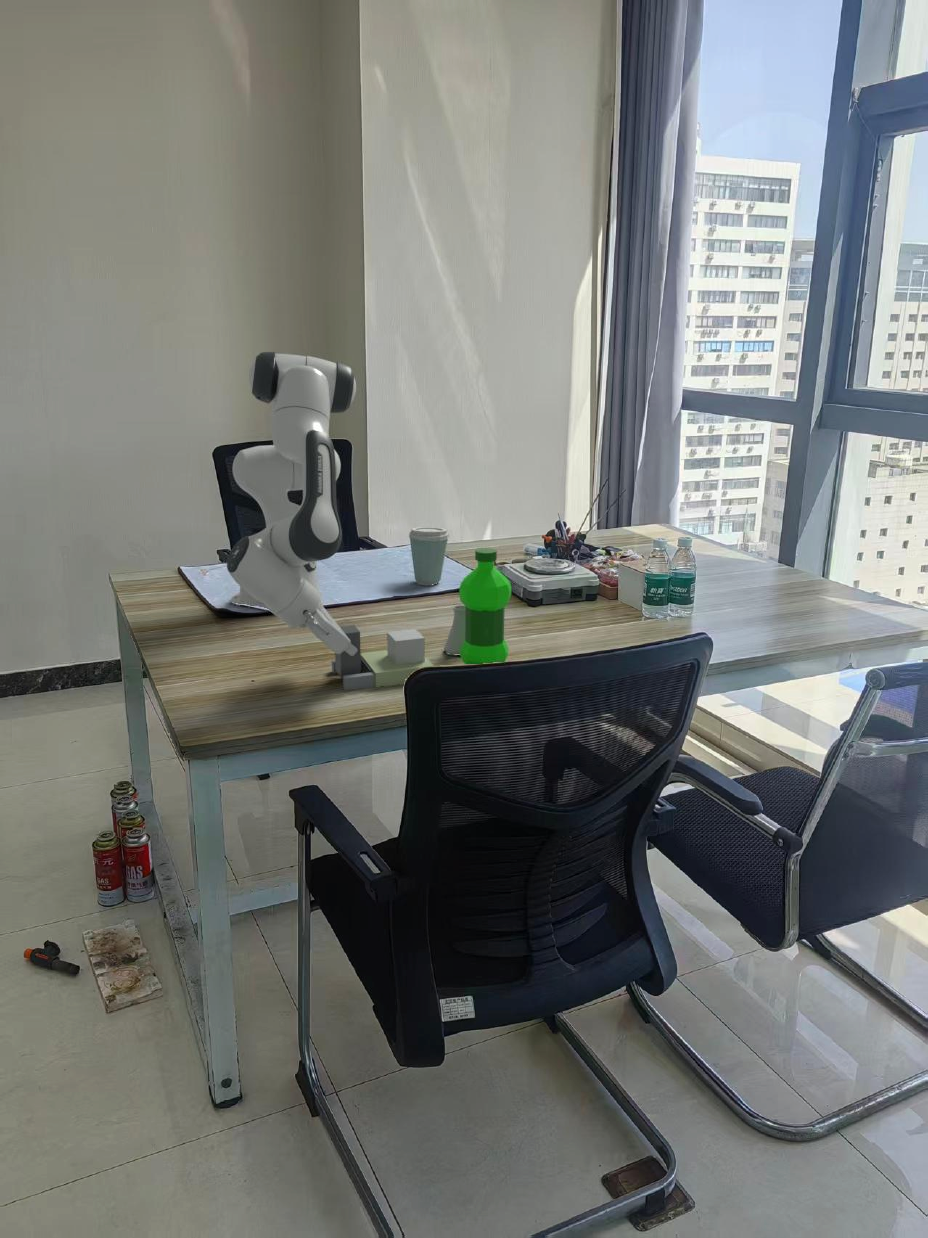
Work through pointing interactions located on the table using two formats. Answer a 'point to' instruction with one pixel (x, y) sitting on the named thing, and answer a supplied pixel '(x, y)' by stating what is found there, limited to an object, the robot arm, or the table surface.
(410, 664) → the pronged platform block
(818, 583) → the table surface
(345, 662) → the chute block
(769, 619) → the table surface
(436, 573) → the disposable coffee cup
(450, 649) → the flask
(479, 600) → the plastic bottle
